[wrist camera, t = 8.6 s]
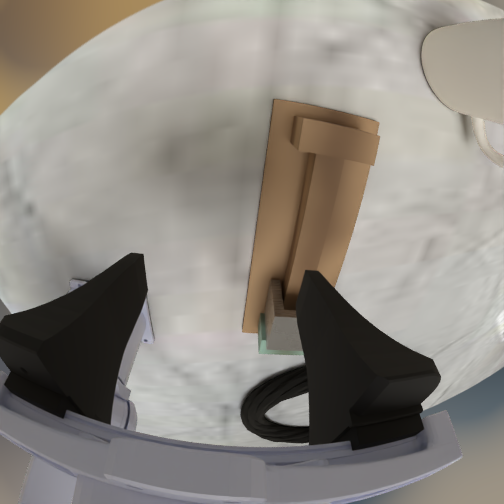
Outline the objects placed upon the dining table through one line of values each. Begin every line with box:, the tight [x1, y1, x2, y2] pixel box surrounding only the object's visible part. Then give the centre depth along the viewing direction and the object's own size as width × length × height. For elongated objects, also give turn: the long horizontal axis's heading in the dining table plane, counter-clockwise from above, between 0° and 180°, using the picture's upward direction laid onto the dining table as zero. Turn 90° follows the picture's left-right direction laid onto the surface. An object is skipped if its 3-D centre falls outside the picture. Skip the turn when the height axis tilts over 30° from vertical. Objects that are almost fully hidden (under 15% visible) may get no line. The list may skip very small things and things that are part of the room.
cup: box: [421, 18, 504, 168], centre depth 10 cm, size 8×12×10 cm
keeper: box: [264, 279, 303, 351], centre depth 23 cm, size 4×4×5 cm
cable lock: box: [240, 367, 309, 443], centre depth 36 cm, size 28×4×30 cm
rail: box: [242, 99, 380, 355], centre depth 21 cm, size 8×22×4 cm, turn 173°
